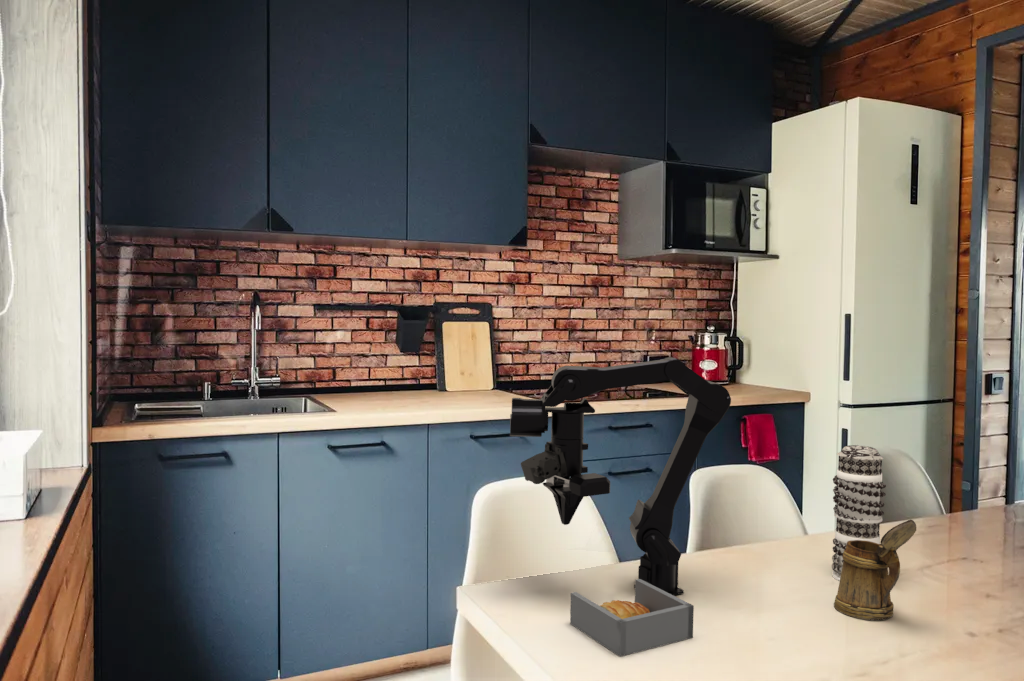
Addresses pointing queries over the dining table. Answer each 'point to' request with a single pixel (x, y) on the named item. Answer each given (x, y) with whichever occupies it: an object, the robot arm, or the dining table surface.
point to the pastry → (625, 608)
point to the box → (635, 621)
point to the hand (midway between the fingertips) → (565, 524)
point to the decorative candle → (856, 499)
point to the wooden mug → (871, 574)
